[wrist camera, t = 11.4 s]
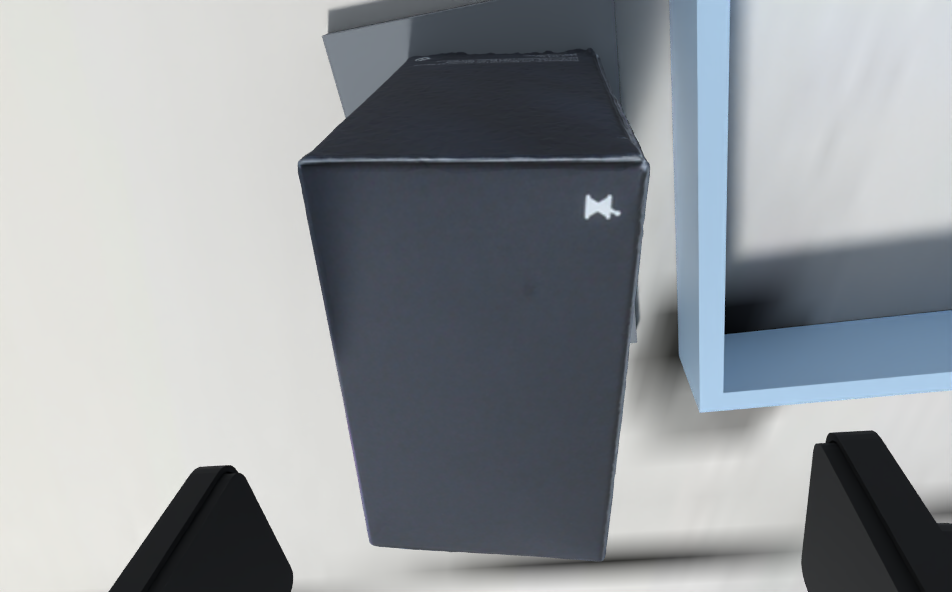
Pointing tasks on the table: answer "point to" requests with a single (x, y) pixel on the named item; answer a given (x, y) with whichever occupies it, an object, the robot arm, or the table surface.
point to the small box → (482, 298)
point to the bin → (704, 260)
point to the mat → (472, 42)
